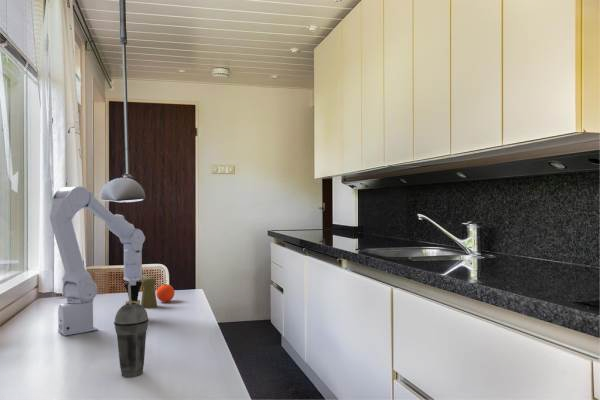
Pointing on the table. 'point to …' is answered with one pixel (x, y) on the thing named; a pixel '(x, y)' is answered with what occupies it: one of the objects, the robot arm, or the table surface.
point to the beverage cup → (131, 337)
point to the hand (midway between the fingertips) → (133, 303)
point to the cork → (148, 293)
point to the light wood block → (134, 301)
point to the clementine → (165, 293)
